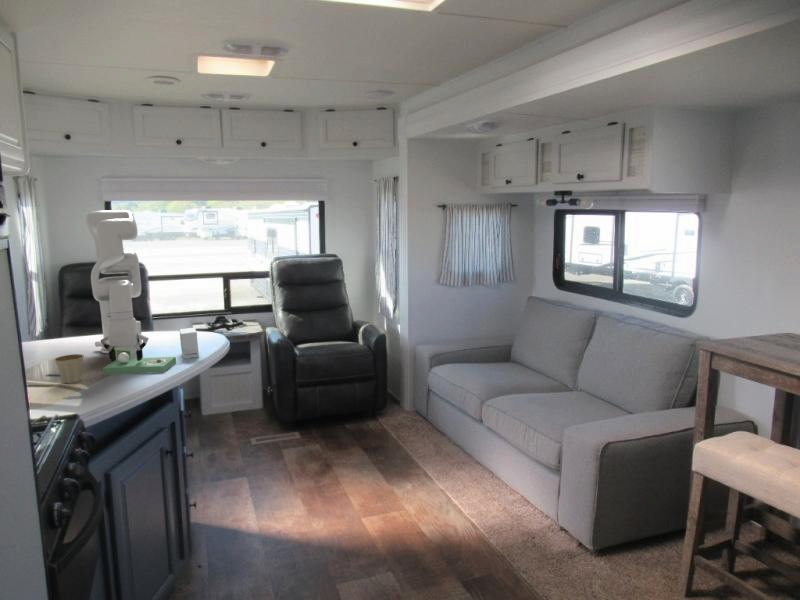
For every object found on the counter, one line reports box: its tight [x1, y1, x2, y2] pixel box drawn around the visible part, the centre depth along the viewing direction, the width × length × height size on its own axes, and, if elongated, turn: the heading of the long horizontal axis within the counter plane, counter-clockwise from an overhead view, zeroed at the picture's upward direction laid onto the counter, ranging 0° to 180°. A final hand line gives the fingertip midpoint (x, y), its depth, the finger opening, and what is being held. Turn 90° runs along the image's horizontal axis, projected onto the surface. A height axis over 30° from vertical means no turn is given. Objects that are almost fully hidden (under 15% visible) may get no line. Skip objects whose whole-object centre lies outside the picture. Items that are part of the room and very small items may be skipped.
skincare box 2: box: [179, 327, 200, 359], centre depth 251 cm, size 10×6×10 cm, turn 22°
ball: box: [118, 353, 129, 363], centre depth 232 cm, size 4×4×4 cm
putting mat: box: [102, 356, 177, 376], centre depth 232 cm, size 22×14×2 cm, turn 93°
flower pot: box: [53, 353, 85, 384], centre depth 217 cm, size 9×9×9 cm
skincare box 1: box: [115, 320, 143, 361], centre depth 247 cm, size 8×7×16 cm
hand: (126, 360), depth 232 cm, fingers open, 9 cm apart
